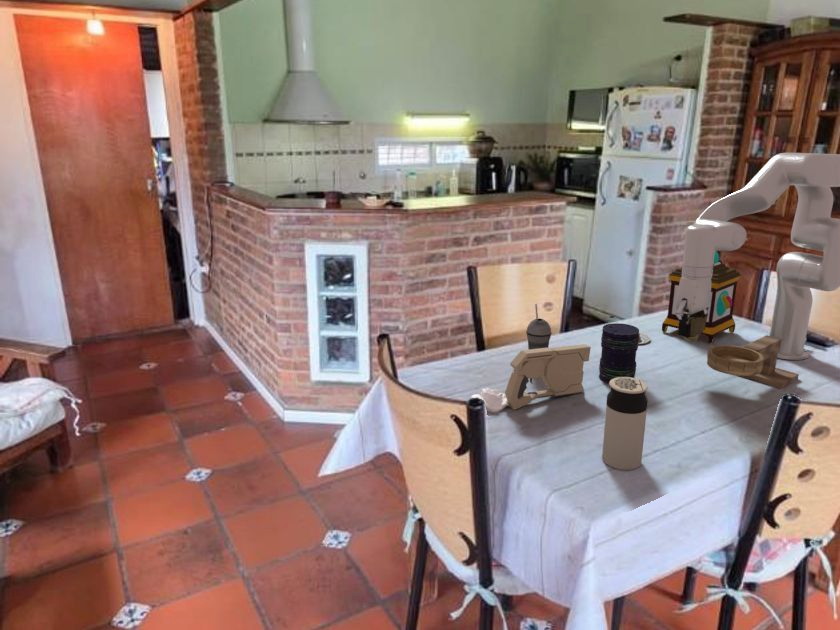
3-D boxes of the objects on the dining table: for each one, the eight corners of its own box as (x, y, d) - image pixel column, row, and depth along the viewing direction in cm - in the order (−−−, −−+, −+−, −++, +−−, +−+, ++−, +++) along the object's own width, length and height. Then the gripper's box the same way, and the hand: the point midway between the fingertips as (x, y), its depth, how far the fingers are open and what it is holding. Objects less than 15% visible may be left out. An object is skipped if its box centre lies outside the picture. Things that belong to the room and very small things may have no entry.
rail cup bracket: (746, 364, 174) (752, 327, 171) (797, 379, 164) (805, 340, 160) (691, 391, 157) (696, 351, 154) (744, 410, 147) (751, 367, 143)
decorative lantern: (684, 320, 215) (693, 239, 206) (740, 333, 201) (753, 246, 192) (655, 332, 203) (664, 246, 194) (712, 347, 189) (725, 255, 180)
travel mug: (600, 467, 124) (606, 389, 118) (603, 448, 131) (609, 374, 125) (640, 474, 121) (649, 394, 115) (641, 454, 128) (649, 378, 122)
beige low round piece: (617, 332, 205) (618, 320, 204) (653, 337, 199) (654, 325, 198) (608, 343, 195) (609, 330, 194) (646, 349, 190) (647, 335, 188)
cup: (709, 343, 161) (712, 315, 158) (682, 344, 161) (685, 317, 158) (698, 334, 168) (700, 307, 165) (672, 335, 168) (674, 308, 166)
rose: (467, 394, 149) (474, 379, 158) (467, 410, 150) (474, 394, 159) (507, 398, 146) (511, 382, 155) (507, 414, 148) (511, 397, 156)
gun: (510, 411, 148) (516, 355, 145) (502, 406, 151) (508, 351, 147) (584, 399, 159) (591, 346, 155) (576, 394, 162) (583, 342, 158)
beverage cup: (544, 375, 170) (547, 309, 164) (521, 370, 174) (523, 306, 168) (553, 367, 176) (556, 303, 170) (530, 362, 179) (532, 299, 173)
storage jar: (640, 377, 167) (646, 317, 162) (625, 388, 160) (631, 326, 155) (607, 368, 173) (612, 310, 168) (592, 379, 167) (596, 319, 161)
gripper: (700, 263, 166) (695, 322, 172) (666, 274, 156) (661, 337, 162) (727, 267, 160) (720, 328, 166) (693, 279, 151) (686, 344, 156)
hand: (691, 332), depth 164 cm, fingers closed on cup, 6 cm apart
